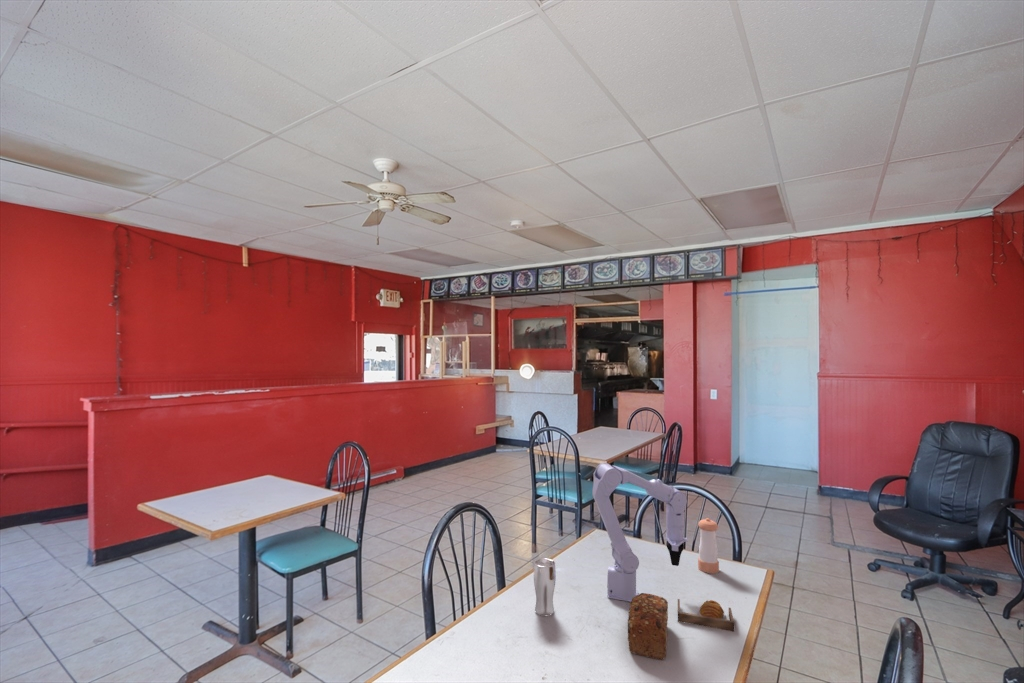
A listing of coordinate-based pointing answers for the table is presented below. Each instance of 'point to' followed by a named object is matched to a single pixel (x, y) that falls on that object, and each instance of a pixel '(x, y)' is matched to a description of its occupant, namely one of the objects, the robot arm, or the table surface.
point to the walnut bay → (706, 620)
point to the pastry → (711, 609)
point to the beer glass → (544, 585)
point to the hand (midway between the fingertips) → (675, 564)
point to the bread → (648, 625)
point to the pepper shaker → (708, 546)
